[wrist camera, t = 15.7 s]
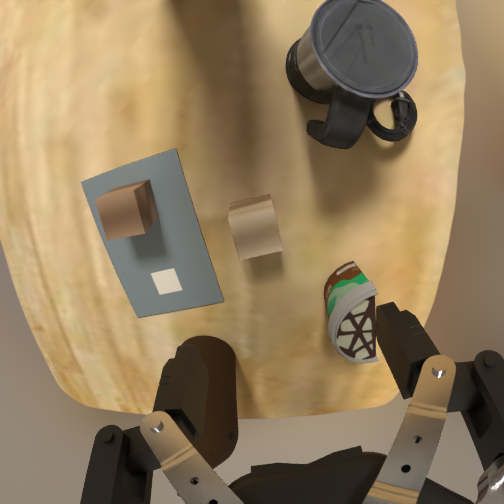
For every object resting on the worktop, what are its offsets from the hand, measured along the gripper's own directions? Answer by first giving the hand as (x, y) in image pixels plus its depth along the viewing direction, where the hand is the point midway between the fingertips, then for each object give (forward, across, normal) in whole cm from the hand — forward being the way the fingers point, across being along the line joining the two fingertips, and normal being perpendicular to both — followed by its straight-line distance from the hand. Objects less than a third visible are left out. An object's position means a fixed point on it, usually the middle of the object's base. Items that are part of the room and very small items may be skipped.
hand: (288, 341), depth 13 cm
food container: (+27, -8, +18) cm, 34 cm away
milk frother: (+28, -14, -10) cm, 33 cm away
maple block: (+28, +2, +4) cm, 28 cm away
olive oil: (+27, +14, +25) cm, 40 cm away
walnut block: (+27, +16, -2) cm, 32 cm away
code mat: (+28, +16, +4) cm, 32 cm away
